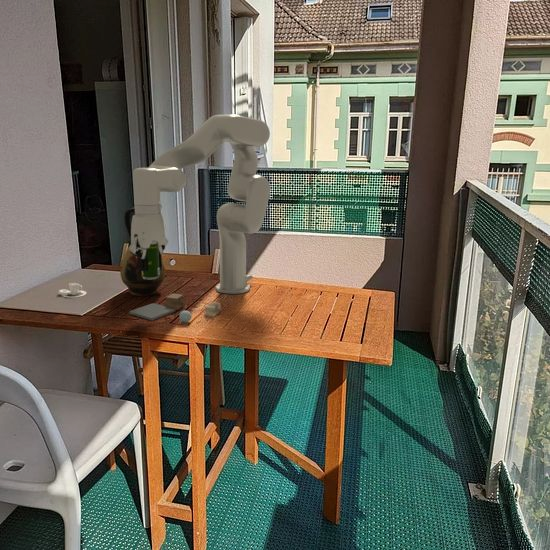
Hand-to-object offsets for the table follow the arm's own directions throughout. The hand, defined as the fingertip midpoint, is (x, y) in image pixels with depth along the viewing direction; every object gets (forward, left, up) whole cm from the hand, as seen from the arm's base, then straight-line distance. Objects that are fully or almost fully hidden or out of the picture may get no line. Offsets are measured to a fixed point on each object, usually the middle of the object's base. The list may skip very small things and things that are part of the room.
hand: (150, 268), depth 151 cm
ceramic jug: (-13, -19, -15) cm, 27 cm away
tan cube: (-8, +2, -15) cm, 17 cm away
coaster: (0, 0, -15) cm, 15 cm away
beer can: (0, 0, -3) cm, 3 cm away
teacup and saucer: (+2, -38, -15) cm, 41 cm away
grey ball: (0, +14, -13) cm, 19 cm away
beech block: (-11, +16, -15) cm, 24 cm away
